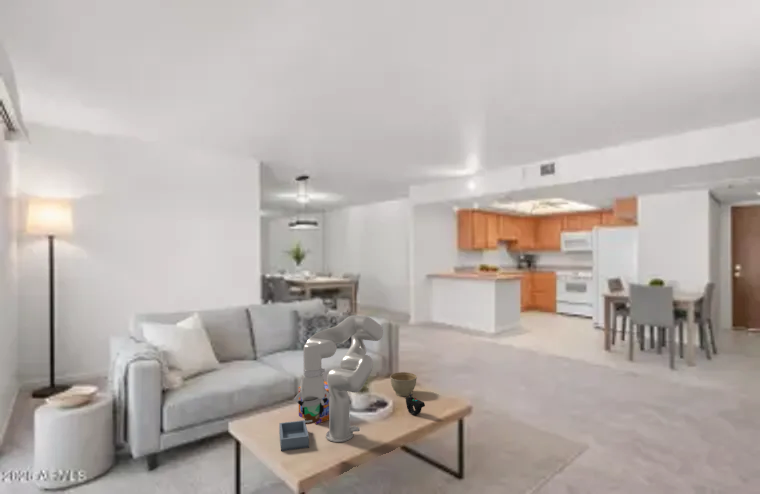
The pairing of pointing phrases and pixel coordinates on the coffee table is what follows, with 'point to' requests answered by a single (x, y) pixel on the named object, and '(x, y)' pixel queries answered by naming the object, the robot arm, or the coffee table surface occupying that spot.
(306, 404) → the latticed semicircular wedge
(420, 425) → the coffee table surface
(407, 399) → the controller
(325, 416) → the game box
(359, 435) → the coffee table surface
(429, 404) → the coffee table surface
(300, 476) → the coffee table surface
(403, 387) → the planter bowl
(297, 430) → the bin
